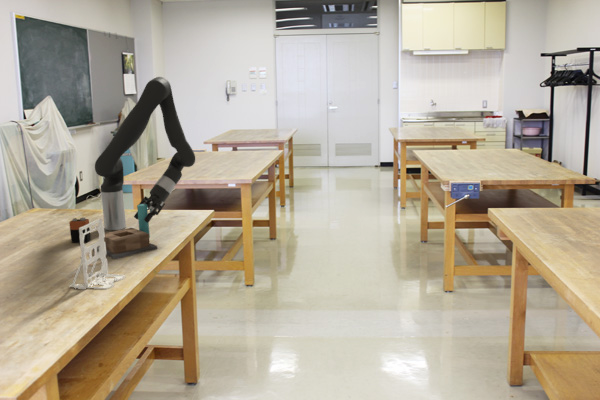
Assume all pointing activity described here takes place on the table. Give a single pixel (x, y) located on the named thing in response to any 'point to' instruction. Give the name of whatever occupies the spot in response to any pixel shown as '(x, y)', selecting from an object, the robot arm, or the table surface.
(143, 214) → the peg
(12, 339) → the table surface
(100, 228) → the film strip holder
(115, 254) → the socket block
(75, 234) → the battery
